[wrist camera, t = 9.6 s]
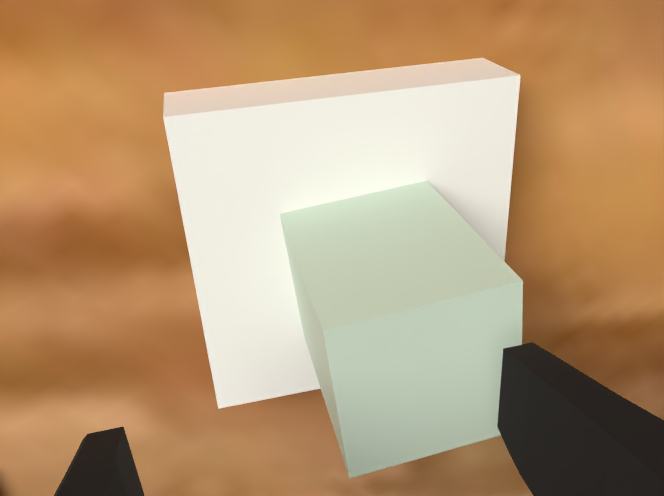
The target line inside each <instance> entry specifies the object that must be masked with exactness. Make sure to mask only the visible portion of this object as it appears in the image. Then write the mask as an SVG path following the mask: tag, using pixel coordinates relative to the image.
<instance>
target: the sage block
mask: <svg viewBox="0 0 664 496" xmlns="http://www.w3.org/2000/svg"><path fill="white" fill-rule="evenodd" d="M280 219H281V224H282V229H283V234H284V239H285V244H286V249H287V254H288V259H289V264H290V269H291V274H292V279H293V284H294V289H295V294H296V299H297V304H298V309H299V314H300V319H301V324H302V329H303V334H304V338H305V341H306V344H307V347H308V350H309V353H310V356H311V360H312V363H313V366H314V369H315V372H316V375H317V378H318V381H319V385H320V388H321V391H322V394H323V397H324V400H325V403H326V407H327V410H328V413H329V416H330V419H331V422H332V425H333V428H334V432H335V435H336V438H337V441H338V444H339V447H340V450H341V453H342V457H343V460H344V463H345V466H346V469H347V472H348V475H349V478H353V477H356V476H360V475H363V474H367V473H370V472H374V471H377V470H381V469H384V468H388V467H391V466H395V465H398V464H402V463H405V462H409V461H412V460H416V459H419V458H423V457H426V456H430V455H433V454H437V453H440V452H444V451H447V450H451V449H454V448H458V447H461V446H465V445H468V444H472V443H475V442H479V441H482V440H486V439H489V438H493V437H496V436H500V435H501V434H500V432H499V430H498V427H497V423H498V410H499V397H500V384H501V372H502V359H503V348H508V347H513V346H518V345H522V314H523V280H522V279H521V278H520V277H519V276H518V275H517V274H516V273H515V272H514V271H513V270H512V269H511V268H510V267H509V266H508V265H507V264H506V263H505V262H504V261H503V260H502V259H501V258H500V257H499V255H498V254H497V253H496V252H495V251H494V250H493V249H492V248H491V247H490V246H489V245H488V244H487V243H486V242H485V241H484V240H483V239H482V238H481V237H480V236H479V235H478V234H477V233H476V232H475V231H474V230H473V229H472V228H471V226H470V225H469V224H468V223H467V222H466V221H465V220H464V219H463V218H462V217H461V216H460V215H459V214H458V213H457V212H456V211H455V210H454V209H453V208H452V207H451V206H450V205H449V204H448V203H447V202H446V201H445V200H444V199H443V197H442V196H441V195H440V194H439V193H438V192H437V191H436V190H435V189H434V188H433V187H432V186H431V185H430V184H429V183H428V182H427V181H423V182H418V183H414V184H409V185H405V186H400V187H396V188H391V189H387V190H382V191H378V192H374V193H369V194H365V195H360V196H356V197H351V198H347V199H342V200H338V201H333V202H329V203H324V204H320V205H316V206H311V207H307V208H302V209H298V210H293V211H289V212H284V213H280Z"/></svg>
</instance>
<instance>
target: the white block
mask: <svg viewBox="0 0 664 496" xmlns="http://www.w3.org/2000/svg"><path fill="white" fill-rule="evenodd" d="M519 87H520V75H519V74H517V73H515V72H512V71H510V70H508V69H506V68H504V67H502V66H499V65H497V64H495V63H493V62H491V61H489V60H486V59H484V58H476V59H467V60H458V61H449V62H440V63H431V64H422V65H413V66H404V67H395V68H386V69H377V70H368V71H359V72H350V73H341V74H332V75H323V76H314V77H305V78H296V79H287V80H278V81H269V82H259V83H250V84H241V85H232V86H223V87H214V88H205V89H196V90H187V91H178V92H169V93H164V112H163V118H164V123H165V129H166V134H167V139H168V144H169V150H170V155H171V160H172V166H173V171H174V176H175V181H176V187H177V192H178V197H179V203H180V208H181V213H182V218H183V224H184V229H185V234H186V240H187V245H188V250H189V255H190V261H191V266H192V271H193V277H194V282H195V287H196V292H197V298H198V303H199V308H200V314H201V319H202V324H203V329H204V335H205V340H206V345H207V351H208V356H209V361H210V366H211V372H212V377H213V382H214V388H215V393H216V398H217V403H218V409H219V408H224V407H229V406H234V405H239V404H244V403H249V402H254V401H259V400H265V399H270V398H275V397H280V396H285V395H290V394H295V393H300V392H305V391H310V390H316V389H321V388H320V385H319V381H318V378H317V375H316V372H315V369H314V366H313V363H312V360H311V356H310V353H309V350H308V347H307V344H306V341H305V338H304V334H303V329H302V324H301V319H300V314H299V309H298V304H297V299H296V294H295V289H294V284H293V279H292V274H291V269H290V264H289V259H288V254H287V249H286V244H285V239H284V234H283V229H282V224H281V219H280V213H284V212H289V211H293V210H298V209H302V208H307V207H311V206H316V205H320V204H324V203H329V202H333V201H338V200H342V199H347V198H351V197H356V196H360V195H365V194H369V193H374V192H378V191H382V190H387V189H391V188H396V187H400V186H405V185H409V184H414V183H418V182H423V181H427V182H428V183H429V184H430V185H431V186H432V187H433V188H434V189H435V190H436V191H437V192H438V193H439V194H440V195H441V196H442V197H443V199H444V200H445V201H446V202H447V203H448V204H449V205H450V206H451V207H452V208H453V209H454V210H455V211H456V212H457V213H458V214H459V215H460V216H461V217H462V218H463V219H464V220H465V221H466V222H467V223H468V224H469V225H470V226H471V228H472V229H473V230H474V231H475V232H476V233H477V234H478V235H479V236H480V237H481V238H482V239H483V240H484V241H485V242H486V243H487V244H488V245H489V246H490V247H491V248H492V249H493V250H494V251H495V252H496V253H497V254H498V255H499V257H500V258H501V259H502V260H503V261H504V260H505V249H506V237H507V226H508V214H509V202H510V191H511V179H512V168H513V156H514V145H515V133H516V121H517V110H518V98H519Z"/></svg>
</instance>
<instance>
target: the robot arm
mask: <svg viewBox="0 0 664 496" xmlns="http://www.w3.org/2000/svg"><path fill="white" fill-rule="evenodd" d="M497 427H498V430H499V432H500V434H501V436H502V438H503V440H504V442H505V445H506V447H507V449H508V451H509V453H510V455H511V457H512V459H513V461H514V463H515V465H516V467H517V469H518V471H519V473H520V475H521V476H522V478H523V480H524V481H525V483H526V484H527V486H528V488H529V489H530V491H531V492H532V494H533V495H534V496H664V420H662V419H660V418H658V417H657V416H655V415H653V414H651V413H649V412H648V411H646V410H644V409H642V408H640V407H639V406H637V405H635V404H633V403H632V402H630V401H628V400H627V399H625V398H623V397H621V396H620V395H618V394H616V393H615V392H613V391H611V390H610V389H608V388H606V387H605V386H603V385H601V384H600V383H598V382H596V381H595V380H593V379H592V378H590V377H588V376H587V375H585V374H583V373H582V372H580V371H579V370H577V369H575V368H574V367H572V366H570V365H569V364H567V363H566V362H564V361H562V360H561V359H559V358H557V357H556V356H554V355H553V354H551V353H549V352H548V351H546V350H544V349H543V348H541V347H539V346H537V345H536V344H534V343H528V344H523V345H518V346H513V347H508V348H503V359H502V372H501V384H500V397H499V410H498V423H497ZM54 496H144V493H143V489H142V486H141V483H140V480H139V476H138V473H137V470H136V466H135V463H134V460H133V457H132V453H131V450H130V447H129V444H128V440H127V437H126V434H125V430H124V427H119V428H114V429H109V430H105V431H100V432H95V433H90V434H87V435H86V437H85V438H84V439H83V440H82V442H81V444H80V446H79V448H78V450H77V452H76V454H75V456H74V458H73V460H72V462H71V464H70V466H69V468H68V470H67V472H66V474H65V476H64V478H63V480H62V482H61V483H60V485H59V487H58V489H57V491H56V493H55V495H54Z"/></svg>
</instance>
